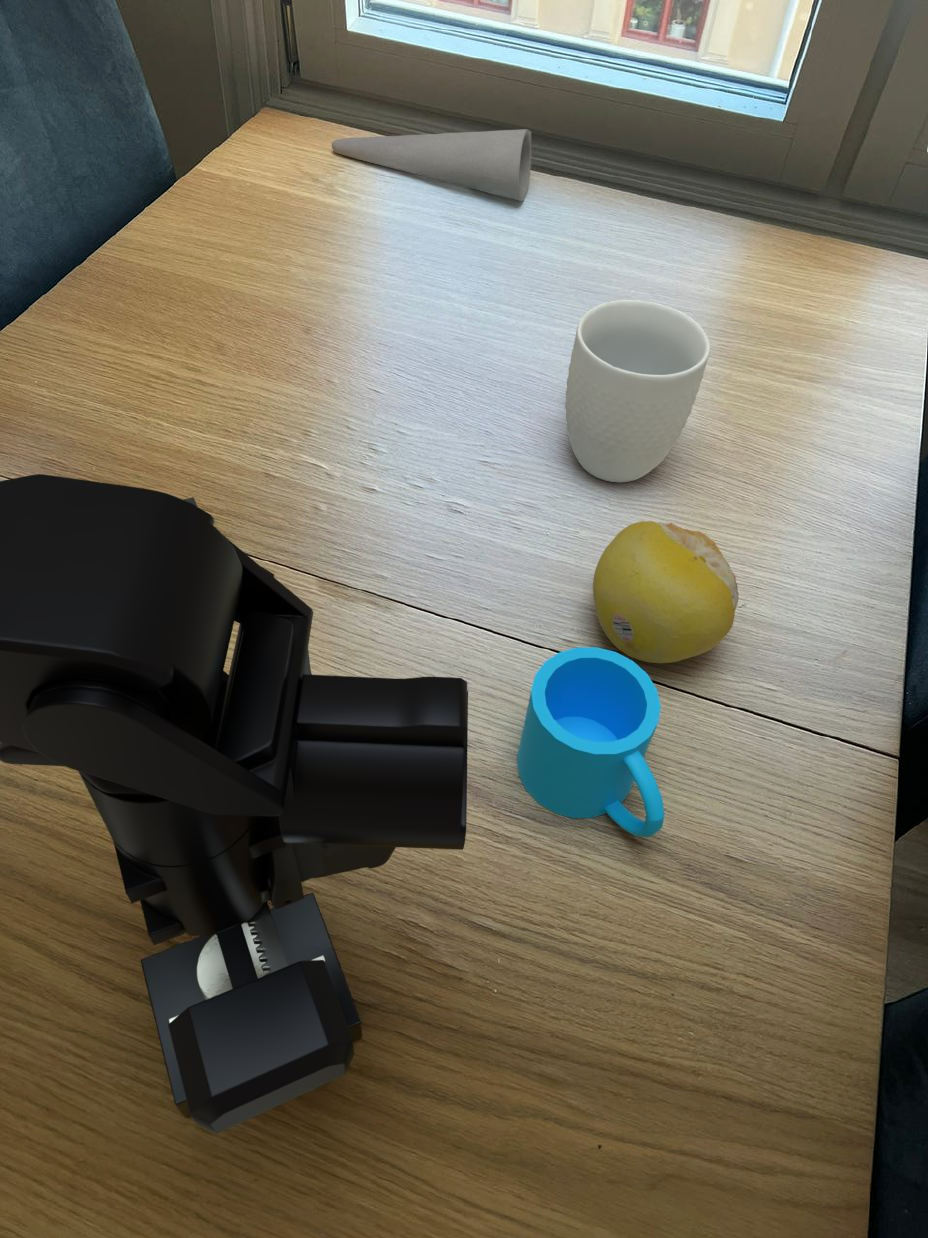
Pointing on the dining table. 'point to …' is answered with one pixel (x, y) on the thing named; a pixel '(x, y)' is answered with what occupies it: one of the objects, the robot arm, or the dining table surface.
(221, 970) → the dial
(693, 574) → the fruit
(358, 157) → the gray cone
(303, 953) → the dial panel
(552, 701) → the mug
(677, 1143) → the dining table surface
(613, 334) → the mug
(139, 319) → the dining table surface
